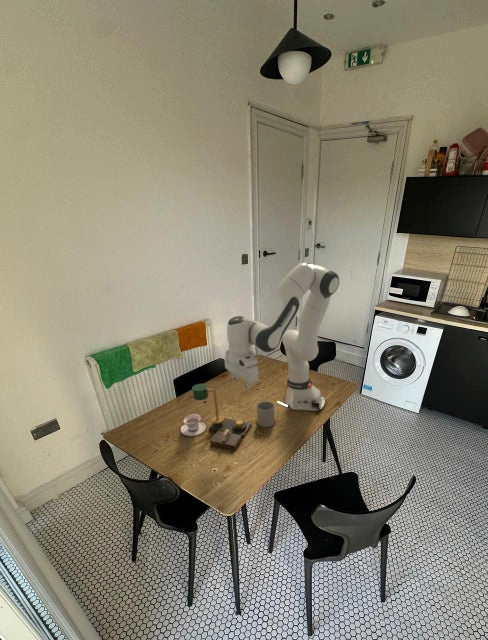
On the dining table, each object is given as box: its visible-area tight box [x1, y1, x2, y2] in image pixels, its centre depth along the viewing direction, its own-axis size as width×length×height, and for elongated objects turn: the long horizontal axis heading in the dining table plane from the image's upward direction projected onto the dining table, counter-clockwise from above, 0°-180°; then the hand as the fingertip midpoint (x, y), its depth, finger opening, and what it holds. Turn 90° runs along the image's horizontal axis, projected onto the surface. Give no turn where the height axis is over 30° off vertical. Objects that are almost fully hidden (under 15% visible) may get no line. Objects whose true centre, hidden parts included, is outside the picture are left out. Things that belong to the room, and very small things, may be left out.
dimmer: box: [209, 431, 243, 452], centre depth 147 cm, size 12×9×3 cm
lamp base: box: [208, 417, 252, 439], centre depth 157 cm, size 18×10×4 cm, turn 74°
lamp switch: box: [236, 419, 244, 427], centre depth 154 cm, size 4×4×2 cm
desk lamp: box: [191, 383, 225, 424], centre depth 154 cm, size 14×7×17 cm, turn 74°
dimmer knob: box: [222, 429, 230, 441], centre depth 146 cm, size 5×2×3 cm, turn 164°
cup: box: [256, 400, 275, 428], centre depth 160 cm, size 8×8×10 cm
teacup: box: [180, 413, 207, 437], centre depth 155 cm, size 12×12×6 cm
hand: (241, 384), depth 143 cm, fingers open, 8 cm apart
